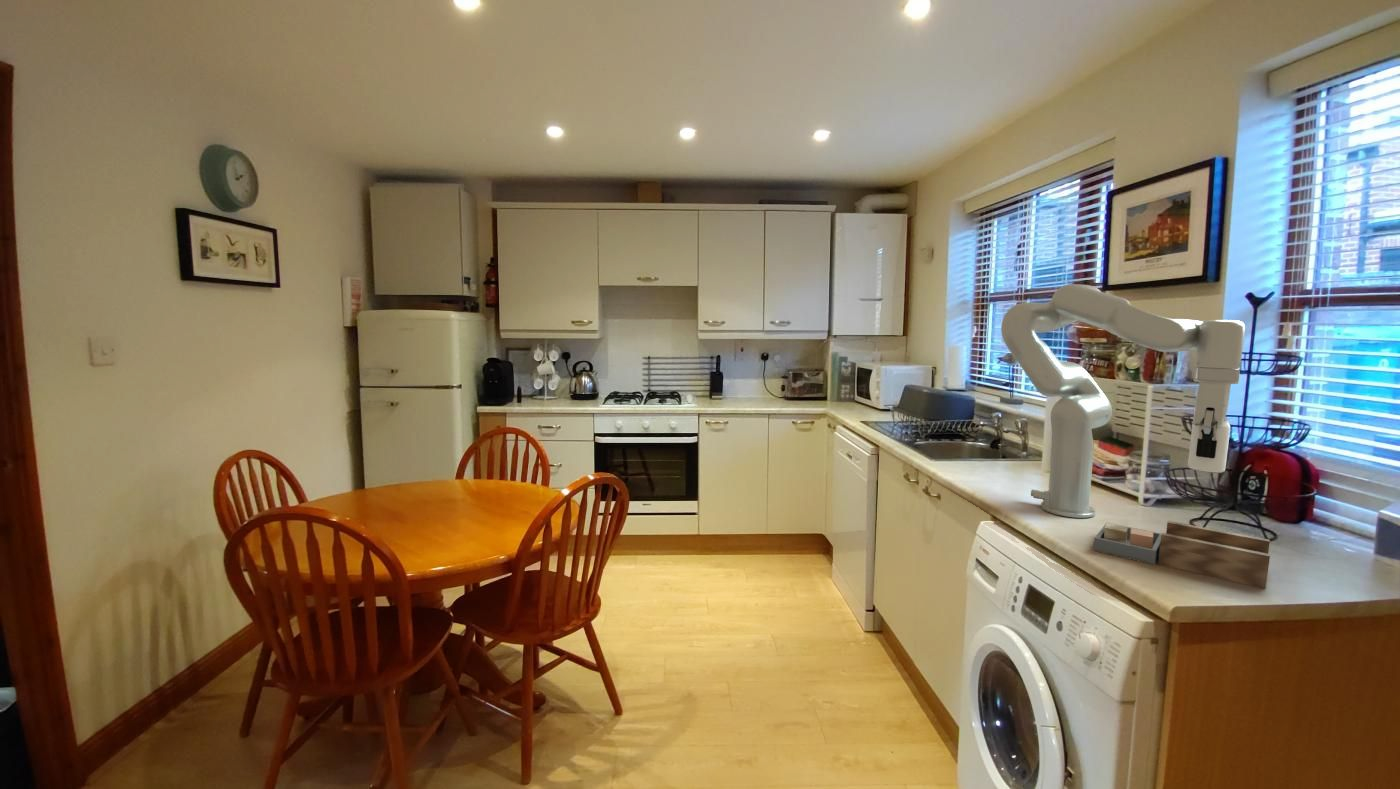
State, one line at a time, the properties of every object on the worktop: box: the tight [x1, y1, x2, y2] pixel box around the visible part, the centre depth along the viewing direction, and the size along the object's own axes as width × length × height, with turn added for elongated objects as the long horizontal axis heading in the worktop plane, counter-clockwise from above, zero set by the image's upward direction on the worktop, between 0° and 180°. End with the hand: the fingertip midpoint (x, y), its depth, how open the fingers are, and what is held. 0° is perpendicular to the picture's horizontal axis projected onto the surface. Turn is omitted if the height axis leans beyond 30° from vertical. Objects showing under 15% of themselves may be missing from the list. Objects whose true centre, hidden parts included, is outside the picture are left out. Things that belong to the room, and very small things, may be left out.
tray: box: [1093, 522, 1163, 565], centre depth 132 cm, size 11×14×3 cm
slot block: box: [1157, 520, 1271, 589], centre depth 122 cm, size 16×12×6 cm
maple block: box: [1104, 522, 1129, 544], centre depth 134 cm, size 4×4×4 cm
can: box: [1187, 417, 1231, 474], centre depth 132 cm, size 6×6×12 cm
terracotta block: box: [1130, 527, 1154, 549], centre depth 130 cm, size 4×4×4 cm
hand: (1207, 453), depth 132 cm, fingers closed on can, 6 cm apart
